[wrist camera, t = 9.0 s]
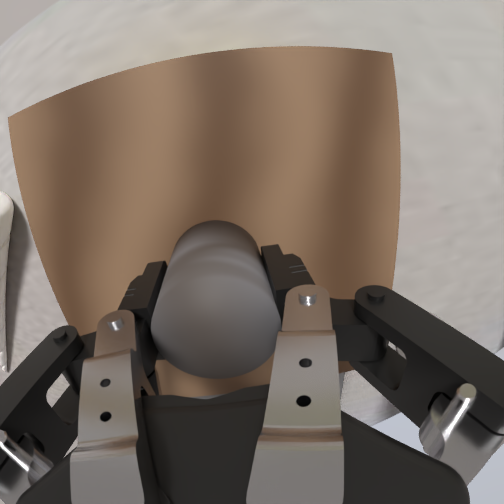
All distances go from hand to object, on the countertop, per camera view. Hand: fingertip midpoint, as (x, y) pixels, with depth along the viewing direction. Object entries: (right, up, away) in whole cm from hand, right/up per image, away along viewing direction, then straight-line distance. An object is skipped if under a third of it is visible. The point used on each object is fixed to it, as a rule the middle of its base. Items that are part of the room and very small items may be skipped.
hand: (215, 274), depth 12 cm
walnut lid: (0, +1, +2) cm, 2 cm away
